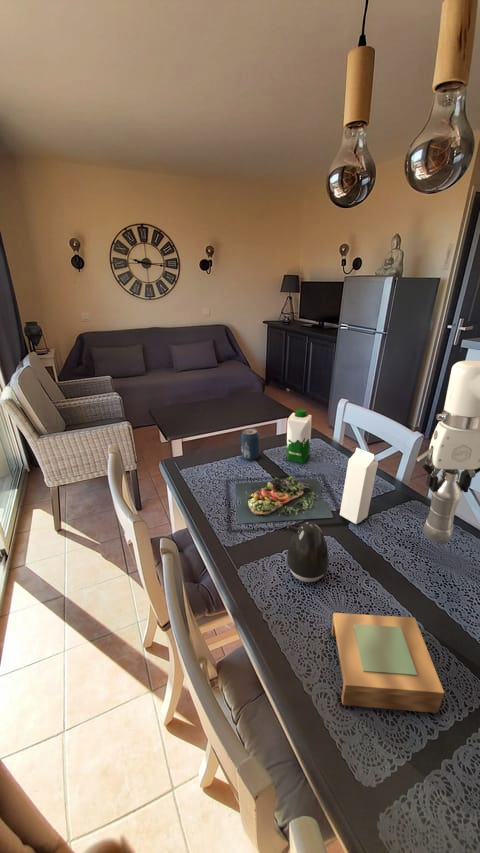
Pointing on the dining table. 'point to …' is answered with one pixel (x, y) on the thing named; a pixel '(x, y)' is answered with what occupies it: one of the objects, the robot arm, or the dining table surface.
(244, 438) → the soda can
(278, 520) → the plated dish
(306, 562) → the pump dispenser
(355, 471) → the milk
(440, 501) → the silver metal bottle
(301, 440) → the milk carton
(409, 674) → the wooden block
